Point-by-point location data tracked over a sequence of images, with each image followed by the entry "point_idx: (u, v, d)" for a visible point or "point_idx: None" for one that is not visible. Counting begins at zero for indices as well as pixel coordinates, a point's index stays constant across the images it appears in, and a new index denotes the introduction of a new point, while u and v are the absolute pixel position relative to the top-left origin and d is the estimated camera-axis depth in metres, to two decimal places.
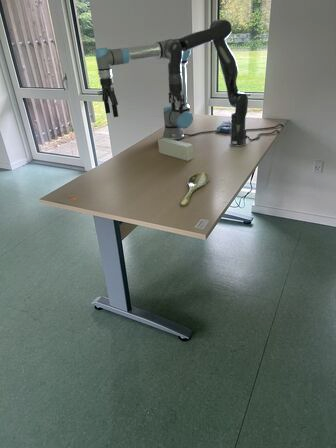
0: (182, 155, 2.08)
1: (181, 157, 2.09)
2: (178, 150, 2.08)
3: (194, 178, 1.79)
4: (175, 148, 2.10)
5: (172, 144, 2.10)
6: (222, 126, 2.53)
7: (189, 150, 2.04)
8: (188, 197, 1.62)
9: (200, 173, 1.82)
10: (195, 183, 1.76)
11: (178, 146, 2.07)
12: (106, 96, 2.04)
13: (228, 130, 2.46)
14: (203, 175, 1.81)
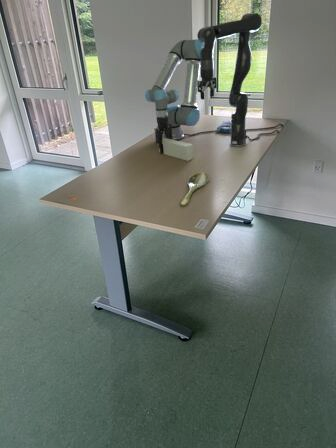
0: (182, 155, 2.08)
1: (181, 157, 2.09)
2: (178, 150, 2.08)
3: (194, 178, 1.79)
4: (174, 148, 2.10)
5: (172, 144, 2.10)
6: (222, 126, 2.53)
7: (189, 150, 2.04)
8: (188, 197, 1.62)
9: (200, 173, 1.82)
10: (195, 183, 1.76)
11: (178, 146, 2.07)
12: None
13: (228, 130, 2.46)
14: (203, 175, 1.81)
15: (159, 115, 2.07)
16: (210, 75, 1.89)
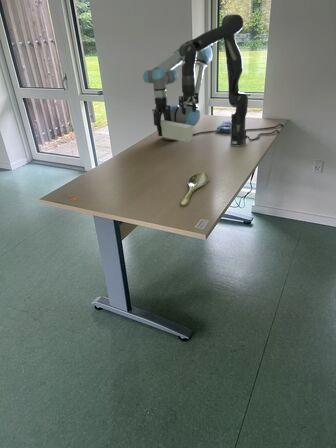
0: (181, 136, 2.02)
1: (180, 139, 2.03)
2: (177, 132, 2.02)
3: (194, 178, 1.79)
4: (173, 130, 2.04)
5: (171, 125, 2.04)
6: (222, 126, 2.53)
7: (188, 131, 1.98)
8: (188, 197, 1.62)
9: (200, 173, 1.82)
10: (195, 183, 1.76)
11: (177, 127, 2.01)
12: None
13: (228, 130, 2.46)
14: (203, 175, 1.81)
15: (157, 95, 2.01)
16: (191, 90, 1.87)
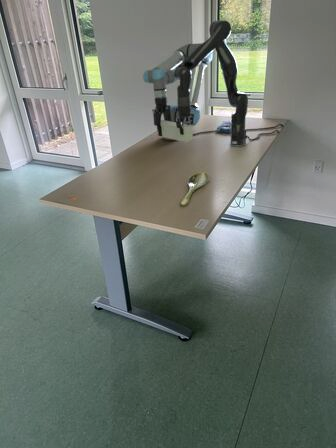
0: (180, 136, 2.02)
1: (180, 139, 2.03)
2: (177, 132, 2.02)
3: (194, 178, 1.79)
4: (173, 130, 2.04)
5: (171, 126, 2.04)
6: (222, 126, 2.53)
7: (188, 131, 1.98)
8: (188, 197, 1.62)
9: (200, 173, 1.82)
10: (195, 183, 1.76)
11: None
12: None
13: (228, 130, 2.46)
14: (203, 175, 1.81)
15: (157, 95, 2.01)
16: (187, 111, 1.92)
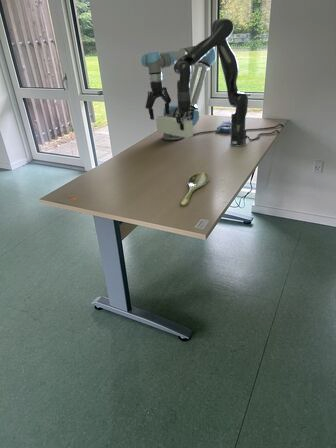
0: (181, 132, 2.00)
1: (180, 134, 2.02)
2: (177, 127, 2.01)
3: (194, 178, 1.79)
4: (173, 125, 2.03)
5: (171, 121, 2.03)
6: (222, 126, 2.53)
7: (188, 127, 1.97)
8: (188, 197, 1.62)
9: (200, 173, 1.82)
10: (195, 183, 1.76)
11: (177, 123, 1.99)
12: None
13: (228, 130, 2.46)
14: (203, 175, 1.81)
15: (153, 79, 1.98)
16: (187, 106, 1.90)
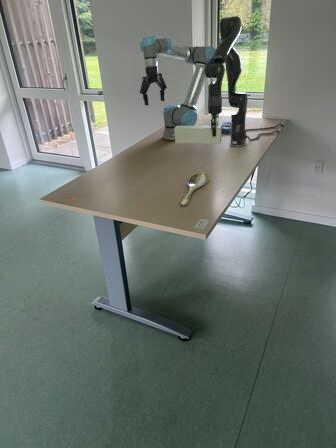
0: (211, 139, 1.89)
1: (210, 141, 1.90)
2: (206, 134, 1.89)
3: (194, 178, 1.79)
4: (201, 133, 1.89)
5: (197, 129, 1.88)
6: (222, 126, 2.53)
7: (220, 132, 1.88)
8: (188, 197, 1.62)
9: (200, 173, 1.82)
10: (195, 183, 1.76)
11: (206, 130, 1.87)
12: None
13: (228, 130, 2.46)
14: (203, 175, 1.81)
15: (148, 64, 1.96)
16: (221, 110, 1.81)
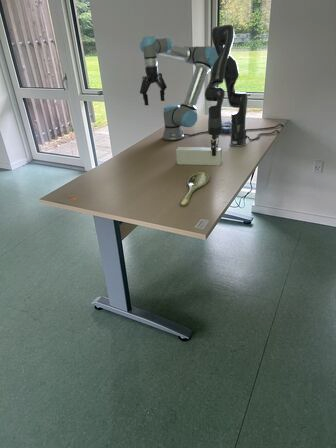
0: (212, 160, 1.96)
1: (211, 163, 1.97)
2: (207, 156, 1.95)
3: (194, 178, 1.79)
4: (202, 155, 1.96)
5: (198, 151, 1.95)
6: (222, 126, 2.53)
7: (220, 154, 1.95)
8: (188, 197, 1.62)
9: (200, 173, 1.82)
10: (195, 183, 1.76)
11: (207, 152, 1.94)
12: None
13: (228, 130, 2.46)
14: (203, 175, 1.81)
15: (148, 64, 1.96)
16: (220, 132, 1.87)
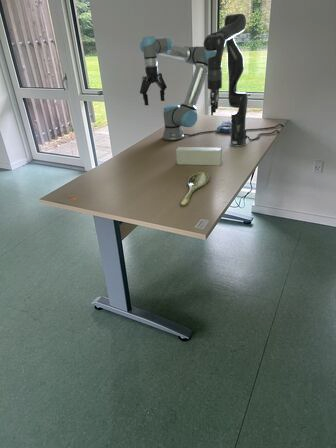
0: (212, 160, 1.96)
1: (211, 163, 1.97)
2: (207, 156, 1.95)
3: (194, 178, 1.79)
4: (202, 155, 1.96)
5: (198, 151, 1.95)
6: (222, 126, 2.53)
7: (220, 154, 1.95)
8: (188, 197, 1.62)
9: (200, 173, 1.82)
10: (195, 183, 1.76)
11: (207, 152, 1.94)
12: None
13: (228, 130, 2.46)
14: (203, 175, 1.81)
15: (148, 64, 1.96)
16: (221, 86, 1.75)
